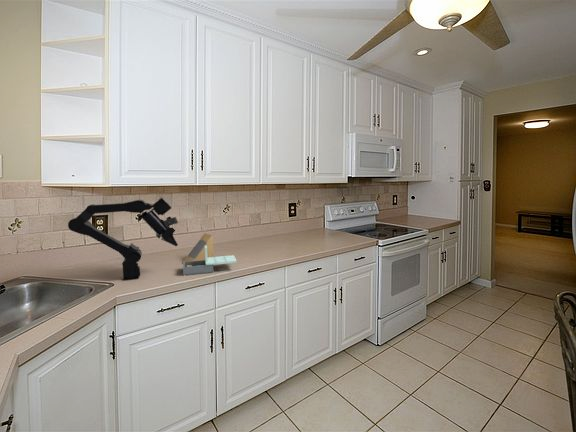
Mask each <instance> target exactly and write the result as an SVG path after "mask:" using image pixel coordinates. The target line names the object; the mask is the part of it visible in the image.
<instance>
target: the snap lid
mask: <svg viewBox="0 0 576 432" xmlns="http://www.w3.org/2000/svg"><path fill="white" fill-rule="evenodd" d="M237 262H238V261H237V259H236V257H235V255H223V256H221V255H220V256H214V255H213V257H208V258H207V246H205V263H206V265H213V266H214V265H222V264H233V263H237Z"/></svg>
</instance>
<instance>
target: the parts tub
mask: <svg viewBox="0 0 576 432" xmlns="http://www.w3.org/2000/svg"><path fill="white" fill-rule="evenodd" d="M182 262H183V261H182ZM182 272H183V274H182V275H183V276H184V275H185V276H194V275H203V274H213V273H214V265H206V263H205V260H200V261H188V262H183V264H182Z"/></svg>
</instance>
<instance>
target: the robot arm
mask: <svg viewBox="0 0 576 432" xmlns="http://www.w3.org/2000/svg"><path fill="white" fill-rule="evenodd" d="M171 209H172V206H171V205H170V204H169V203H168V202H167V201H166V200H165V199H164V198H163V197H160V198H159V199H158V200H156V201H155V202H154V203H147V202H146V201H144V199H135V200H131V201H126V202H119V203H118V202H117V203H103V204H101V203H100V204H93V203H92V204H89V205H87V206H86V208H85V209H84V210H83V211H82V212H81V213H80V214H79V215H77V216H76V217H73V218H72V219H70V220H69V221H68V223H67V226H68V229H69V230H70V231H71V232H74V233H77V234H78V235H79V234H80V235H84V236H87V237H89V238H92V239H94V241H95V240H96V241H97V242H100V243H101V244H103V245H105V246H107V247H109V248H110V249H113V250H115V251H116V252H118V253H119V254H120V255H121V256H122V257H123V260H122V263H121V266H122V277H123V278H122V281H129V280H136V279H139V278H140V277H141V266H139V263H138V262H139V261H140V260H141V259H142V258H141V257H142V255H143V252H142V249H140V246H137V245H134V243H133V242H132V243H130V244H126V243H123V242H122V241H120V240H118V239H116V238H114V237H112V236H110V235H109V234H107V233H105V232H104V231H101V230H100V229H98V228H96V227H95V226H94V225H93V223H91V222H90V220H91V219H92V217H93V216H94V215H96V214H103V213H118V212H119V213H121V212H127V213H128V212H129V213H134V214H135V213H137V221H138V222H139V221H141V220H143V221H144V222H145V223H146V224H147V225H148V226H149V227H150V229H151V230H153V231H154V232H155V237H157V238H158V239H160V240H161V241H164V242H166V243H169V244H170V245H173V246H175V247H177V246H178V245H179V244H178V242H177V241H176V239H175V237H174V233H175V232H176V229H174V227H170V226H173V225H177V224H179V222H178V218H177V217H176V216H174V217H171V216H168V217H166V219H165V220H164V219H162V218H160V217H159V216H164V215H165V214H166V213H168V212H169V211H170V210H171ZM140 213H142V214H140Z"/></svg>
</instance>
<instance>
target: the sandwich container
mask: <svg viewBox="0 0 576 432" xmlns="http://www.w3.org/2000/svg"><path fill="white" fill-rule="evenodd" d="M213 237H214V236H213V235H212V234H210V233H206V232H204V233H203V235H202V236H201V237H200V239H199V240H198V242H197V243H196V244H195V246H193V248H192V249H191V251H190V252H189V253H188V255H186V257H185V258H184V260H183V261H181V264H182V265H183V262H188V261H200V260H205V246H207V258H208V257H214V241H213V239H214V238H213Z"/></svg>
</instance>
